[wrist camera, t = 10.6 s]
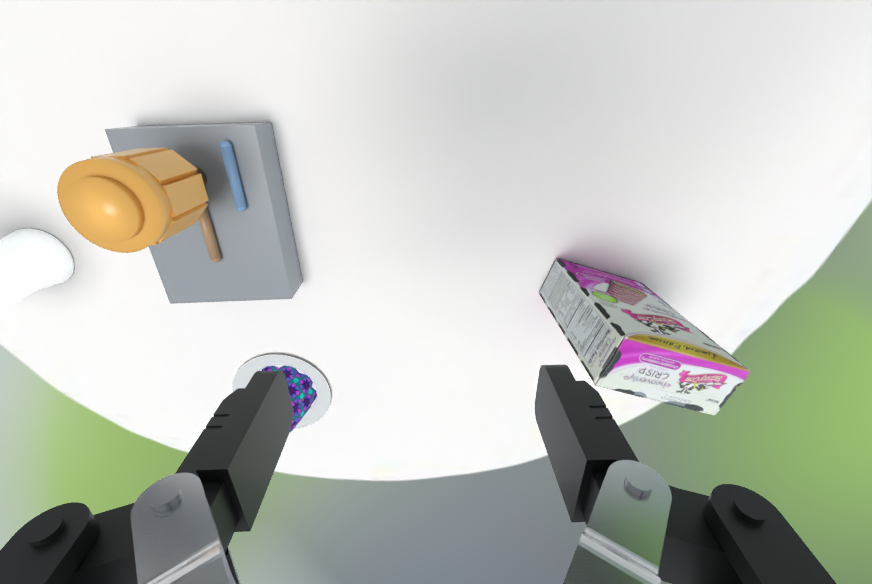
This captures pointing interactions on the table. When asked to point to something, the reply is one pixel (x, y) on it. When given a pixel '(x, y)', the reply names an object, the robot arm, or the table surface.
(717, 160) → the table surface
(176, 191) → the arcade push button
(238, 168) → the box
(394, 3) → the table surface
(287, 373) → the pudding
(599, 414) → the robot arm
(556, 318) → the candy bar box
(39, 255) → the beer glass
